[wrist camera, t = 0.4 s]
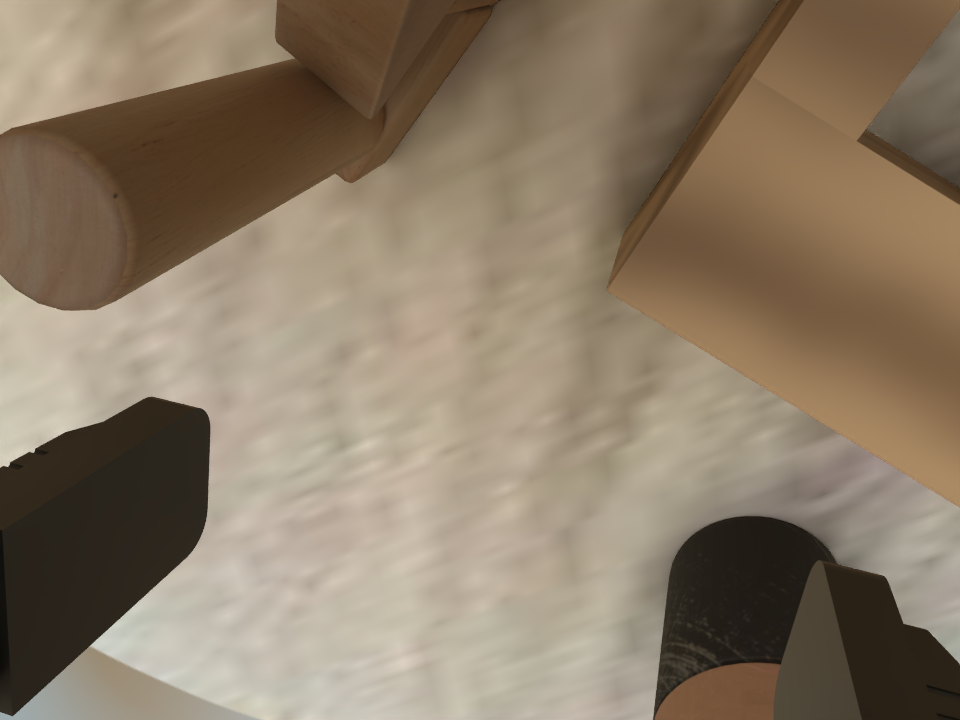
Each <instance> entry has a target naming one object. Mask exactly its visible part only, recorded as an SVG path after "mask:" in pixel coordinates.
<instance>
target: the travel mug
mask: <svg viewBox="0 0 960 720" xmlns="http://www.w3.org/2000/svg"><path fill="white" fill-rule="evenodd" d="M818 560H821V561H825V562H829V563H833V564H837V563H836V561H835V559H834V558H833V556H832V555H831V553H830V552H829V551H828V549H827V548H826V547H825V546H824V545H823V544H822V543H821V542H820V541H818V540H817V539H816V538H815V537H813V536H812V535H811V534H809V533H807V532H806V531H804V530H802V529H800V528H798V527H796V526H794V525H792V524H789V523H786V522H783V521H779V520H775V519H770V518H762V517H741V518H733V519H728V520H724V521H721V522H718V523H714V524H712V525H710V526H708V527H706V528H704V529H702V530H701V531H699V532H697V533H696V534H695V535H693V536H692V537H691V538H690V539H689V540H688V541H687V542H686V543H685V544H684V545H683V546H682V548H681V549H680V551H679V552H678V554H677V555H676V558H675V560H674V562H673V565H672V568H671V572H670V577H669V584H668V592H667V600H666V609H665V618H664V627H663V636H662V645H661V654H660V663H659V672H658V681H657V690H656V699H655V708H654V717H653V720H774V697H775V689H776V683H777V678H778V673H779V669H780V665H781V662H782V659H783V656H784V652H785V649H786V646H787V643H788V640H789V637H790V633H791V630H792V627H793V624H794V621H795V617H796V614H797V611H798V608H799V605H800V601H801V598H802V595H803V592H804V589H805V586H806V582H807V579H808V576H809V574H810V571H811V569H812V567H813V565H814V564H815V563H816V562H817V561H818Z"/></svg>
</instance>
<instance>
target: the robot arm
mask: <svg viewBox="0 0 960 720" xmlns="http://www.w3.org/2000/svg"><path fill="white" fill-rule="evenodd" d="M209 453H210V421H209V417H208V415H207V413H206V412H205V411H204V410H203V409H201V408H197V407H193V406H189V405H184V404H180V403H176V402H172V401H168V400H164V399H160V398H156V397H148V398H145V399H143V400H141V401H139V402H138V403H136V404H134V405H132V406H131V407H129V408H127V409H125V410H123V411H122V412H120V413H118V414H116V415H115V416H113V417H111V418H109V419H107V420H106V421H104V422H101V423H97V424H94V425H90V426H87V427H83V428H79V429H76V430H72V431H68V432H65V433H63V434H61V435H60V436H58V437H56V438H54V439H52V440H50V441H49V442H47V443H45V444H43V445H41V446H39V447H38V448H36V449H35V452H34V453H31V452H28V453H27V454H25V455H23V456H21V457H19V458H17V459H16V460H14V461H12V462H10V465H9V467H6V466H3V467H1V468H0V712H2V713H5V714H8V715H11V716H13V715H15V714H16V713H17V712H18V711H19V710H20V709H21V708H22V707H23V706H24V705H25V704H27V703H28V702H29V701H30V700H31V699H32V698H33V697H34V696H35V695H37V694H38V693H39V692H40V691H41V690H42V689H43V688H44V687H45V686H46V685H47V684H48V683H50V682H51V681H52V680H53V679H54V678H55V677H56V676H57V675H58V674H60V673H61V672H62V671H63V670H64V669H65V668H66V667H67V666H68V665H69V664H70V663H72V662H73V661H74V660H75V659H76V658H77V657H78V656H79V655H80V654H81V653H83V652H84V651H85V650H86V649H87V648H88V647H89V646H90V645H91V644H92V643H93V642H95V641H96V640H97V639H98V638H99V637H100V636H101V635H102V634H103V633H104V632H105V631H107V630H108V629H109V628H110V627H111V626H112V625H113V624H114V623H115V622H116V621H118V620H119V619H120V618H121V617H122V616H123V615H124V614H125V613H126V612H127V611H128V610H130V609H131V608H132V607H133V606H134V605H135V604H136V603H137V602H138V601H139V600H141V599H142V598H143V597H144V596H145V595H146V594H147V593H148V592H149V591H150V590H151V589H153V588H154V587H155V586H156V585H157V584H158V583H159V582H160V581H161V580H162V579H164V578H165V577H166V576H167V575H168V574H169V573H170V572H171V571H172V570H173V569H174V568H176V567H177V566H178V565H179V564H180V563H181V562H182V561H183V560H184V559H185V558H187V557H188V555H189V554H190V553H191V552H192V551H193V549H194V548H195V546H196V545H197V543H198V541H199V539H200V537H201V534H202V532H203V529H204V526H205V522H206V517H207V509H208V481H209ZM774 720H960V664H959V663H958V662H957V661H956V660H955V659H954V658H953V657H952V655H951V654H950V653H949V652H948V651H947V650H946V649H945V648H944V647H943V646H942V645H941V644H940V643H939V642H938V641H937V640H936V639H935V638H934V637H933V636H932V635H931V633H930V632H929V631H928V630H925V629H921V628H917V627H914V626H910V625H906V624H903V621H902V619H901V616H900V613H899V610H898V608H897V605H896V602H895V600H894V597H893V594H892V591H891V589H890V586H889V583H888V581H887V579H886V578H885V577H884V576H882V575H878V574H874V573H870V572H866V571H862V570H858V569H854V568H850V567H845V566H841V565H837V564H833V563H829V562H825V561H821V560H818V561H817V562H816V563H815V564H814V565H813V567H812V569H811V571H810V574H809V576H808V579H807V582H806V586H805V589H804V592H803V595H802V598H801V601H800V605H799V608H798V611H797V614H796V617H795V621H794V624H793V627H792V630H791V633H790V637H789V640H788V643H787V646H786V649H785V652H784V656H783V659H782V662H781V665H780V669H779V673H778V678H777V683H776V689H775V697H774Z"/></svg>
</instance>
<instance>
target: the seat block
mask: <svg viewBox="0 0 960 720" xmlns="http://www.w3.org/2000/svg"><path fill="white" fill-rule="evenodd" d="M959 8H960V0H779V2H778V3H777V5H776V6H775V8H774V9H773V11H772V12H771V14H770V15H769V17H768V18H767V20H766V21H765V23H764V24H763V26H762V27H761V29H760V30H759V32H758V33H757V35H756V36H755V38H754V39H753V41H752V42H751V44H750V45H749V47H748V48H747V50H746V51H745V53H744V54H743V56H742V57H741V59H740V60H739V62H738V63H737V65H736V66H735V68H734V69H733V71H732V72H731V74H730V75H729V77H728V78H727V80H726V81H725V83H724V84H723V86H722V87H721V89H720V90H719V92H718V93H717V95H716V96H715V98H714V99H713V101H712V102H711V104H710V105H709V107H708V108H707V110H706V111H705V113H704V114H703V116H702V117H701V119H700V120H699V122H698V123H697V125H696V126H695V128H694V129H693V131H692V132H691V134H690V135H689V137H688V138H687V140H686V141H685V143H684V144H683V146H682V147H681V149H680V150H679V152H678V153H677V155H676V156H675V158H674V159H673V161H672V162H671V164H670V165H669V167H668V168H667V170H666V171H665V173H664V174H663V176H662V177H661V179H660V180H659V182H658V183H657V185H656V186H655V188H654V189H653V191H652V192H651V194H650V195H649V197H648V198H647V200H646V201H645V203H644V204H643V206H642V207H641V209H640V210H639V212H638V213H637V215H636V216H635V218H634V219H633V221H632V222H631V224H630V225H629V227H628V228H627V230H626V231H625V233H624V234H623V237H622V240H621V243H620V247H619V250H618V253H617V257H616V260H615V263H614V266H613V270H612V273H611V276H610V280H609V283H608V286H607V290H606V291H608V292H609V293H611V294H613V295H614V296H616V297H617V298H619V299H621V300H622V301H624V302H626V303H627V304H629V305H630V306H632V307H634V308H635V309H637V310H639V311H640V312H642V313H644V314H645V315H647V316H648V317H650V318H652V319H653V320H655V321H657V322H658V323H660V324H661V325H663V326H665V327H666V328H668V329H670V330H671V331H673V332H675V333H676V334H678V335H679V336H681V337H683V338H684V339H686V340H688V341H689V342H691V343H692V344H694V345H696V346H697V347H699V348H701V349H702V350H704V351H705V352H707V353H709V354H710V355H712V356H714V357H715V358H717V359H719V360H720V361H722V362H723V363H725V364H727V365H728V366H730V367H732V368H733V369H735V370H736V371H738V372H740V373H741V374H743V375H745V376H746V377H748V378H750V379H751V380H753V381H754V382H756V383H758V384H759V385H761V386H763V387H764V388H766V389H767V390H769V391H771V392H772V393H774V394H776V395H777V396H779V397H781V398H782V399H784V400H785V401H787V402H789V403H790V404H792V405H794V406H795V407H797V408H798V409H800V410H802V411H803V412H805V413H807V414H808V415H810V416H811V417H813V418H815V419H816V420H818V421H820V422H821V423H823V424H825V425H826V426H828V427H829V428H831V429H833V430H834V431H836V432H838V433H839V434H841V435H842V436H844V437H846V438H847V439H849V440H851V441H852V442H854V443H856V444H857V445H859V446H860V447H862V448H864V449H865V450H867V451H869V452H870V453H872V454H873V455H875V456H877V457H878V458H880V459H882V460H883V461H885V462H887V463H888V464H890V465H891V466H893V467H895V468H896V469H898V470H900V471H901V472H903V473H904V474H906V475H908V476H909V477H911V478H913V479H914V480H916V481H918V482H919V483H921V484H922V485H924V486H926V487H927V488H929V489H931V490H932V491H934V492H935V493H937V494H939V495H940V496H942V497H944V498H945V499H947V500H948V501H950V502H952V503H953V504H955V505H957V506H958V507H960V188H958V187H957V186H955V185H954V184H952V183H950V182H949V181H947V180H946V179H944V178H942V177H941V176H939V175H938V174H936V173H934V172H933V171H931V170H930V169H928V168H926V167H925V166H923V165H921V164H920V163H918V162H917V161H915V160H913V159H912V158H910V157H909V156H907V155H905V154H904V153H902V152H901V151H899V150H897V149H896V148H894V147H892V146H891V145H889V144H888V143H886V142H884V141H883V140H881V139H880V138H878V137H876V136H875V135H873V134H872V133H870V132H868V131H867V130H865V129H866V128H867V127H868V126H869V124H870V123H871V122H872V120H873V119H874V118H875V116H876V115H877V114H878V113H879V111H880V110H881V109H882V107H883V106H884V105H885V104H886V102H887V101H888V100H889V98H890V97H891V96H892V95H893V93H894V92H895V91H896V89H897V88H898V87H899V86H900V84H901V83H902V82H903V80H904V79H905V78H906V77H907V75H908V74H909V73H910V71H911V70H912V69H913V67H914V66H915V65H916V64H917V62H918V61H919V60H920V58H921V57H922V56H923V55H924V53H925V52H926V51H927V49H928V48H929V47H930V46H931V44H932V43H933V42H934V40H935V39H936V38H937V37H938V35H939V34H940V33H941V31H942V30H943V29H944V28H945V26H946V25H947V24H948V22H949V21H950V20H951V19H952V17H953V16H954V15H955V13H956V12H957V11H958V9H959Z"/></svg>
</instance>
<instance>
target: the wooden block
mask: <svg viewBox="0 0 960 720" xmlns="http://www.w3.org/2000/svg"><path fill="white" fill-rule="evenodd" d="M499 1H500V0H277V13H276V30H275V38H276V41H277V43H278V44H279V45H281V46H282V47H283V48H284V49H285V50H286V51H288V52H289V53H290V54H291V55H292V56H294V57H295V59H291V60H287V61H283V62H279V63H275V64H271V65H267V66H263V67H259V68H255V69H251V70H247V71H243V72H239V73H234V74H230V75H226V76H222V77H218V78H214V79H210V80H206V81H202V82H198V83H194V84H190V85H186V86H182V87H178V88H174V89H169V90H165V91H161V92H157V93H153V94H149V95H145V96H141V97H137V98H133V99H129V100H125V101H121V102H117V103H113V104H109V105H104V106H100V107H96V108H92V109H88V110H84V111H80V112H76V113H72V114H68V115H64V116H60V117H56V118H52V119H48V120H44V121H39V122H35V123H31V124H27V125H23V126H19V127H15V128H11V129H10V130H8V131H6V132H4V133H3V134H1V135H0V275H1V276H2V277H3V278H4V279H5V280H6V281H7V282H8V283H9V284H10V285H11V286H13V287H14V288H15V289H16V290H18V291H19V292H21V293H22V294H24V295H26V296H27V297H29V298H31V299H32V300H34V301H36V302H37V303H39V304H43V305H46V306H50V307H53V308H57V309H60V310H70V311H74V310H96V309H99V308H101V307H103V306H105V305H108V304H110V303H112V302H114V301H117V300H118V299H120V298H122V297H124V296H125V295H127V294H129V293H130V292H132V291H134V290H136V289H137V288H139V287H141V286H142V285H144V284H146V283H148V282H149V281H151V280H153V279H154V278H156V277H158V276H160V275H161V274H163V273H165V272H167V271H168V270H170V269H172V268H173V267H175V266H177V265H179V264H180V263H182V262H184V261H185V260H187V259H189V258H191V257H192V256H194V255H196V254H197V253H199V252H201V251H203V250H204V249H206V248H208V247H209V246H211V245H213V244H215V243H216V242H218V241H220V240H221V239H223V238H225V237H227V236H228V235H230V234H232V233H234V232H235V231H237V230H239V229H240V228H242V227H244V226H246V225H247V224H249V223H251V222H252V221H254V220H256V219H258V218H259V217H261V216H263V215H264V214H266V213H268V212H270V211H271V210H273V209H275V208H276V207H278V206H280V205H282V204H283V203H285V202H287V201H289V200H290V199H292V198H294V197H295V196H297V195H299V194H301V193H302V192H304V191H306V190H307V189H309V188H311V187H313V186H314V185H316V184H318V183H319V182H321V181H323V180H325V179H326V178H328V177H330V176H331V175H333V174H335V173H336V174H337V175H338V176H340V177H341V178H342V179H343V180H344V181H347V182H349V183H353V182H355V181H356V180H358V179H360V178H361V177H363V176H364V175H366V174H368V173H369V172H371V171H372V170H374V169H375V168H377V167H378V166H380V165H382V164H383V163H385V162H386V160H387V159H388V158H389V156H390V155H391V153H392V152H393V151H394V149H395V148H396V147H397V145H398V144H399V142H400V141H401V140H402V138H403V137H404V135H405V134H406V133H407V131H408V130H409V128H410V127H411V126H412V124H413V123H414V121H415V120H416V119H417V117H418V116H419V114H420V113H421V112H422V110H423V109H424V107H425V106H426V105H427V103H428V102H429V101H430V99H431V98H432V96H433V95H434V94H435V92H436V91H437V89H438V88H439V87H440V85H441V84H442V82H443V81H444V80H445V78H446V77H447V75H448V74H449V73H450V71H451V70H452V68H453V67H454V66H455V64H456V63H457V61H458V60H459V59H460V57H461V56H462V54H463V53H464V52H465V50H466V49H467V48H468V46H469V45H470V43H471V42H472V41H473V39H474V38H475V36H476V35H477V34H478V32H479V31H480V29H481V28H482V27H483V25H484V24H485V22H486V21H487V20H488V18H489V17H490V15H491V11H492V8H491V6H490V5H491V4H495V3H497V2H499Z"/></svg>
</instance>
